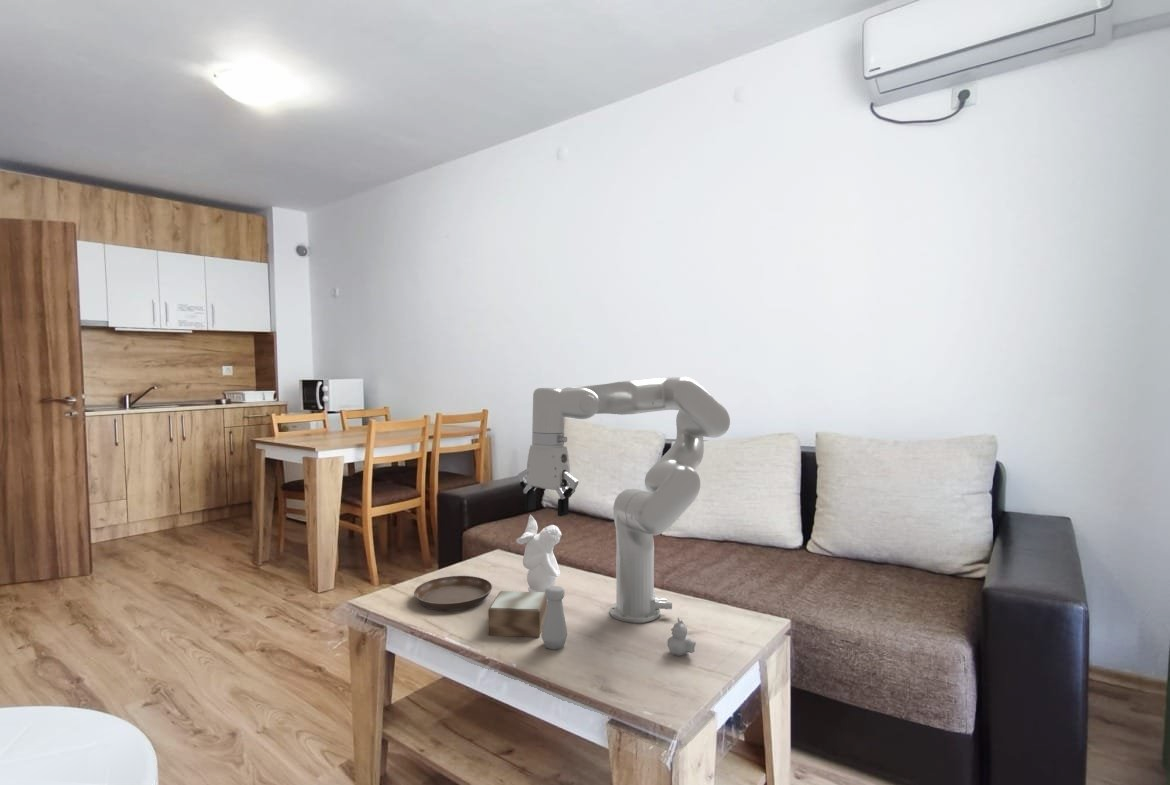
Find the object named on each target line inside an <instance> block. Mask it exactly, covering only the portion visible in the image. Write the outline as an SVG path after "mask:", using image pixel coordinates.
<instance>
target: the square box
mask: <svg viewBox="0 0 1170 785" xmlns="http://www.w3.org/2000/svg"><path fill="white" fill-rule="evenodd" d="M547 603H548V602H547V599H546V597H545V592H529V591H516V590H513V591H511V590H510V591H509V590H500V591H499V592H498V594H497V595H496V597H495V598H494V600H493V601H492V603H491V604H490V606H489V608H488V610H487V611H488V618H487V622H488V625H487V626H488V630H487V631H488V632H487V635H488V636H494V637H495V636H497V637H500V636H501V637H521V636H522V637H523V636H525V637H527V638H540V637H541V634H542V629H543V624H544V619H545V614H546V609H547ZM525 637H524V638H525Z"/></svg>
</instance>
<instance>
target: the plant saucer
mask: <svg viewBox="0 0 1170 785" xmlns="http://www.w3.org/2000/svg"><path fill="white" fill-rule="evenodd" d="M492 590H493V584H492V583H491V582H490V581H489V580H487V579H485V578H482V577H477V576H474V575H473V576H472V575H471V576H470V575H451V576H444V577H438V578H433V579H431V580H428V581H426V582H423V583H421V584H420V585H418V586H417V587H416V588H415V589H414V592H413V594H414V595H413V596H414V598H416V600H417V601H418V602H419V603H420V604H421V605H422V606H424V607H425V608H427V609H430V610H433V609H434V610H435V611H440V610H442V611H444V612H449V611H450V612H452V611H460V610H466V609H470V608H473V607H475V606H477V605H479V604H481V603H482V602H483V601H484V600H485V599H486V598H487V597H488V596H489V595H490V593H491V591H492Z"/></svg>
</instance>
